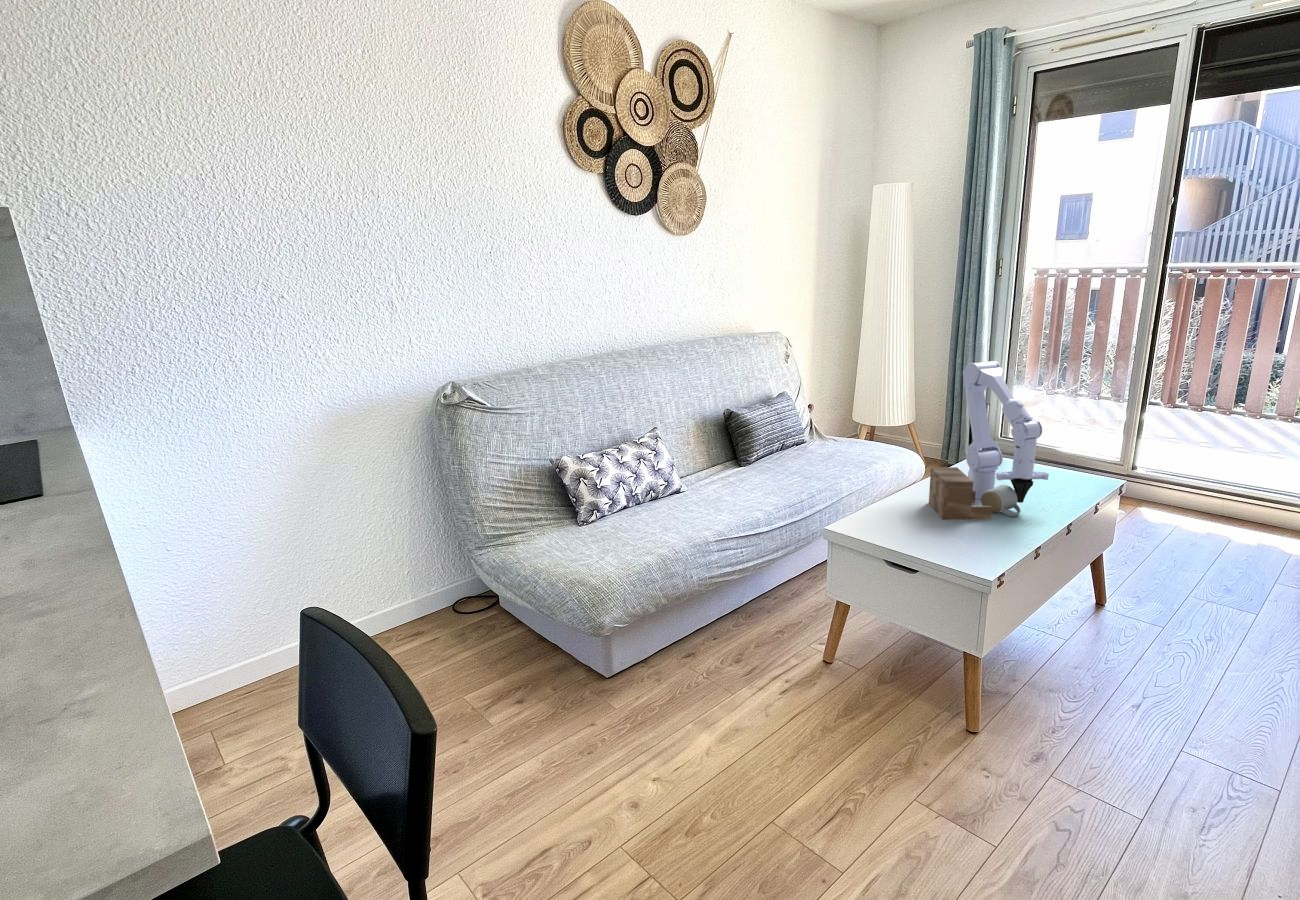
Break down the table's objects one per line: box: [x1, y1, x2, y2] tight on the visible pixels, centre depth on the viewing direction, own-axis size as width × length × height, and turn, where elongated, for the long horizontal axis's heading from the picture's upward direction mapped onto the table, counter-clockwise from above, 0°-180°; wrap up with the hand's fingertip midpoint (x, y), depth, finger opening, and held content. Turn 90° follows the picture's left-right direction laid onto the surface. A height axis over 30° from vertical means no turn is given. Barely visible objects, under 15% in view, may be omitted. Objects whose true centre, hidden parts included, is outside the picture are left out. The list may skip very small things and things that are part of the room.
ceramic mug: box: [980, 484, 1022, 518], centre depth 215 cm, size 11×8×8 cm
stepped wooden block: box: [928, 466, 993, 521], centre depth 217 cm, size 15×14×12 cm
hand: (1019, 501), depth 216 cm, fingers closed
